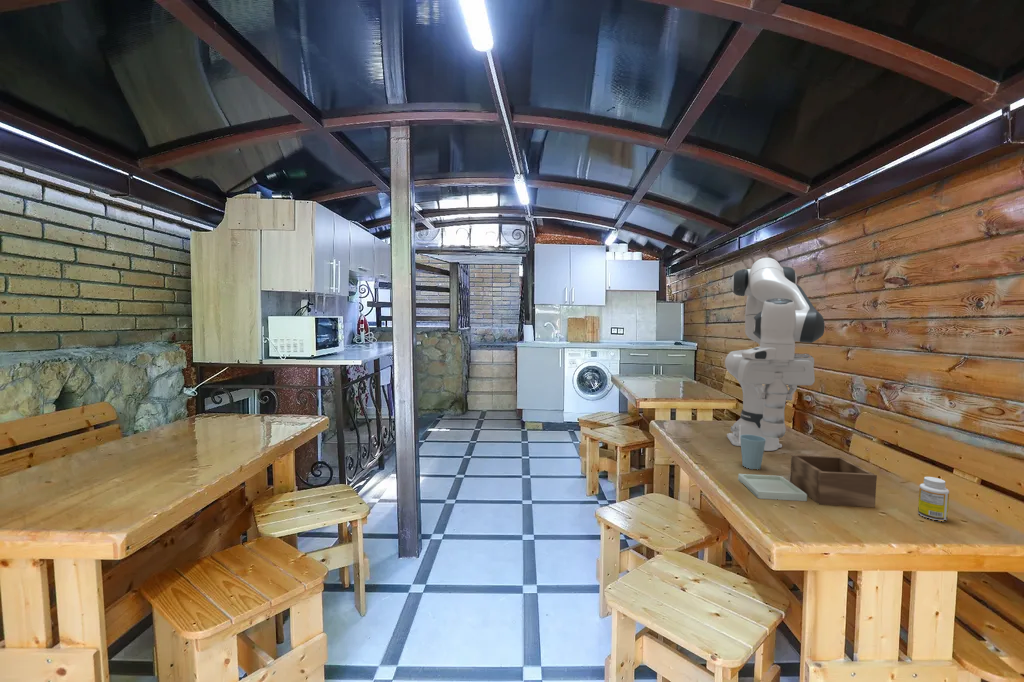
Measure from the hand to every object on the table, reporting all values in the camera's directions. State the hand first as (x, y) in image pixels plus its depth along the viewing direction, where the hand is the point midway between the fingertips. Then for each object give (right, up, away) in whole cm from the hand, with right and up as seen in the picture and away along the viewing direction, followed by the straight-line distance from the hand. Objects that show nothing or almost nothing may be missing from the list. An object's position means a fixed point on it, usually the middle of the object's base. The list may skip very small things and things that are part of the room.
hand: (774, 399), depth 126 cm
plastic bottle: (0, -12, +1) cm, 12 cm away
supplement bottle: (+32, -29, -15) cm, 46 cm away
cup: (+5, -27, +21) cm, 34 cm away
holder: (+16, -28, -1) cm, 32 cm away
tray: (0, -28, +2) cm, 28 cm away
